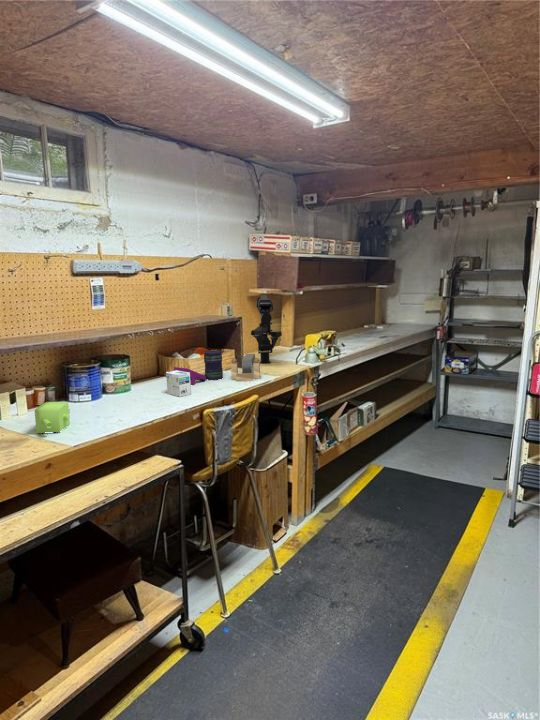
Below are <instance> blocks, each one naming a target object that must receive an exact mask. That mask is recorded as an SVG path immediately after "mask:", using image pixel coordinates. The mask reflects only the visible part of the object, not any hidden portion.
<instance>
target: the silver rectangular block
mask: <svg viewBox="0 0 540 720" xmlns="http://www.w3.org/2000/svg"><path fill="white" fill-rule="evenodd" d="M255 358H256V353H246V354H245V355H244V356H243V358H242V360H241V368H242V373H254V364H253V363H254V359H255Z"/></svg>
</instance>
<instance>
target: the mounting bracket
mask: <svg viewBox="0 0 540 720" xmlns="http://www.w3.org/2000/svg"><path fill="white" fill-rule="evenodd" d="M176 370H178V371H183V372H189V373H190V383H191V385H193V386H194V385H195V382H196V381H197V379H199V380H198V381H204V380H205V381H206V376H205V374H202V373H199V372H197V371H195V370H193V369H191V368H186V367H178V366H174V367H173V370H172V371H176Z"/></svg>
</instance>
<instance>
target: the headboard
mask: <svg viewBox="0 0 540 720" xmlns="http://www.w3.org/2000/svg"><path fill="white" fill-rule="evenodd" d="M253 364H254V373H240V372H239V369H238V361H237V358H234V357H233V358H232V359H231V363H230V370H231V380H232V381H236V382H254V381H255V380H254V379H260V380H261V363H260V358H258V357H255V359H254V363H253ZM253 380H254V381H253Z"/></svg>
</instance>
